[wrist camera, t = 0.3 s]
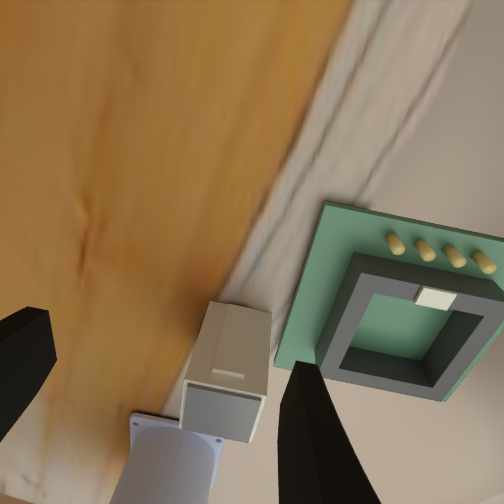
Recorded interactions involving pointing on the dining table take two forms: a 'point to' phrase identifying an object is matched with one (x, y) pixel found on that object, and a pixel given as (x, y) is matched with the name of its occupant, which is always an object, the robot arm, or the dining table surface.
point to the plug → (228, 373)
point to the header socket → (394, 302)
